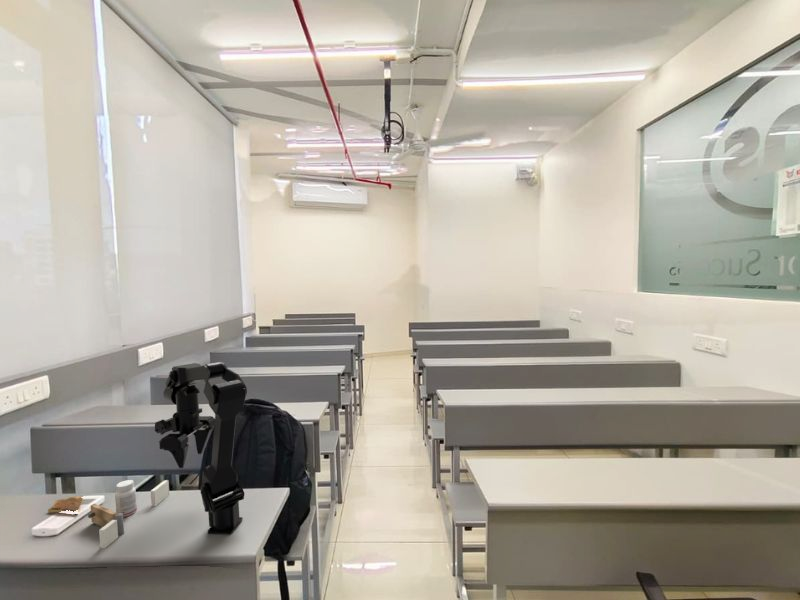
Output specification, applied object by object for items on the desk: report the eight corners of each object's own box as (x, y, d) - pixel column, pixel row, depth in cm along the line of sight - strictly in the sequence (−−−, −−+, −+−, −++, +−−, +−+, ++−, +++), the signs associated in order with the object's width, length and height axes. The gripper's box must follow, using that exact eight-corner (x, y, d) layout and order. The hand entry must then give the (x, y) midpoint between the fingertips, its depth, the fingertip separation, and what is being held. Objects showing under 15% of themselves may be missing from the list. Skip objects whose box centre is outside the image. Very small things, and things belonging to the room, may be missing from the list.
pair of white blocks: (170, 494, 125) (169, 478, 124) (106, 548, 100) (104, 528, 100) (164, 494, 125) (163, 478, 125) (99, 547, 100) (97, 527, 100)
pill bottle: (141, 508, 117) (139, 479, 117) (126, 518, 113) (124, 488, 112) (127, 507, 119) (125, 478, 118) (112, 516, 114) (110, 486, 113)
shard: (78, 517, 115) (78, 510, 115) (43, 526, 111) (42, 519, 111) (84, 499, 124) (84, 493, 124) (51, 507, 121) (51, 501, 120)
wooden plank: (118, 529, 107) (117, 512, 107) (109, 534, 105) (107, 517, 105) (95, 520, 112) (94, 503, 112) (86, 524, 110) (85, 507, 110)
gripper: (180, 398, 129) (183, 447, 130) (138, 418, 111) (142, 475, 112) (215, 398, 128) (217, 447, 129) (178, 418, 110) (181, 476, 111)
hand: (190, 460), depth 120 cm, fingers open, 9 cm apart
